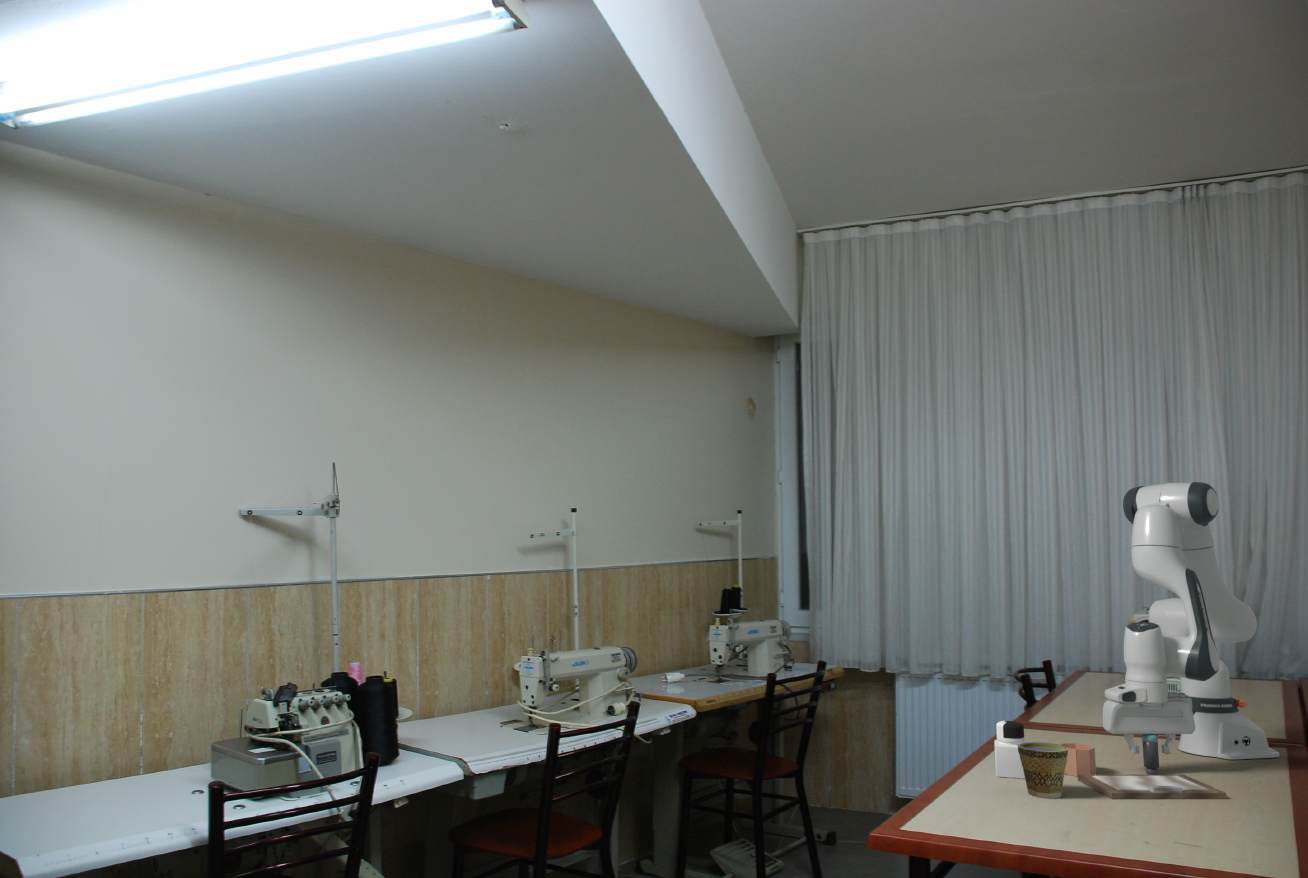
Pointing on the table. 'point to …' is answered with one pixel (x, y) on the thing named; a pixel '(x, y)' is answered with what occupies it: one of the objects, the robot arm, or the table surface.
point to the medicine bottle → (1008, 749)
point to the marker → (1150, 753)
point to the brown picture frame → (1151, 787)
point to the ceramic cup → (1043, 768)
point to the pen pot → (1080, 759)
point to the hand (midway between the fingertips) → (1150, 753)
